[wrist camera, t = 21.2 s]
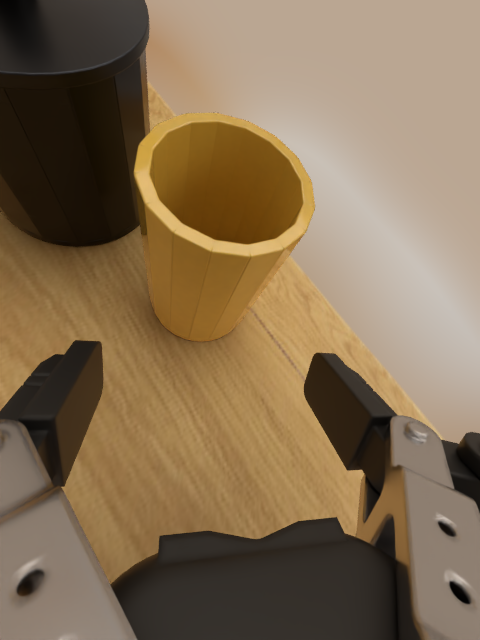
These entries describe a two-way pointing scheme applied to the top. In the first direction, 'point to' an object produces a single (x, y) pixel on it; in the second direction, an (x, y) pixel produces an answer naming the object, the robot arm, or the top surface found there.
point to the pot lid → (69, 41)
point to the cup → (216, 218)
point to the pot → (74, 158)
